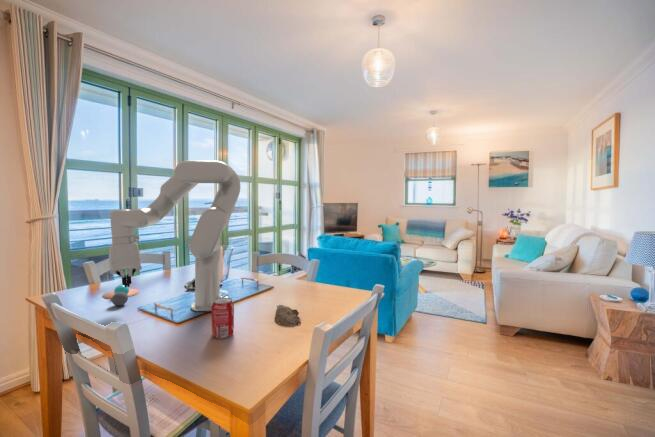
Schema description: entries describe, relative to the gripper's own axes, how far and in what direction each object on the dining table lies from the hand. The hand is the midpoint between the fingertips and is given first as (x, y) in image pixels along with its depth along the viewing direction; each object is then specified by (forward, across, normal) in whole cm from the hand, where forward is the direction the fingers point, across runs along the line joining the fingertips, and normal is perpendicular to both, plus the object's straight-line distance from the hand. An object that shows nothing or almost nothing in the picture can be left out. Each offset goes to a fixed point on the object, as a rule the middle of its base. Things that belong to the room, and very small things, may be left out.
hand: (127, 286), depth 120 cm
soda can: (+12, -24, +43) cm, 51 cm away
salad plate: (+11, -33, -17) cm, 39 cm away
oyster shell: (+13, -48, +44) cm, 66 cm away
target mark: (+9, +1, -24) cm, 25 cm away
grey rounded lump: (+6, +2, -7) cm, 10 cm away
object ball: (+6, +1, -18) cm, 19 cm away
